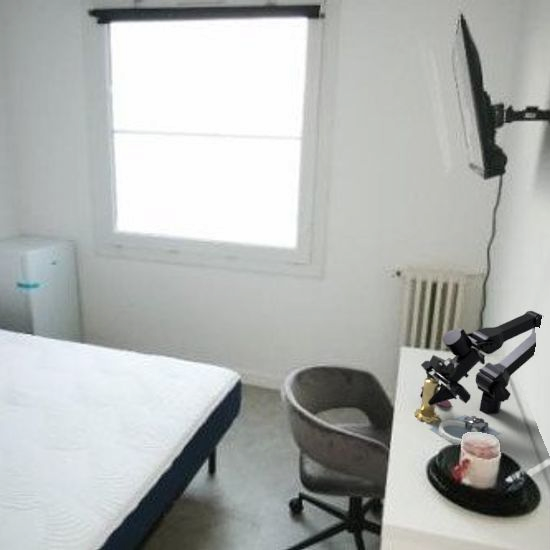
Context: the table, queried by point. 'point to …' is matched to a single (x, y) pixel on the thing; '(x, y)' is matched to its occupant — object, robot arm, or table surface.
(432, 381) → the brass gear
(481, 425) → the fixed gear
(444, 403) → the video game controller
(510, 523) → the table surface
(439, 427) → the gear board
